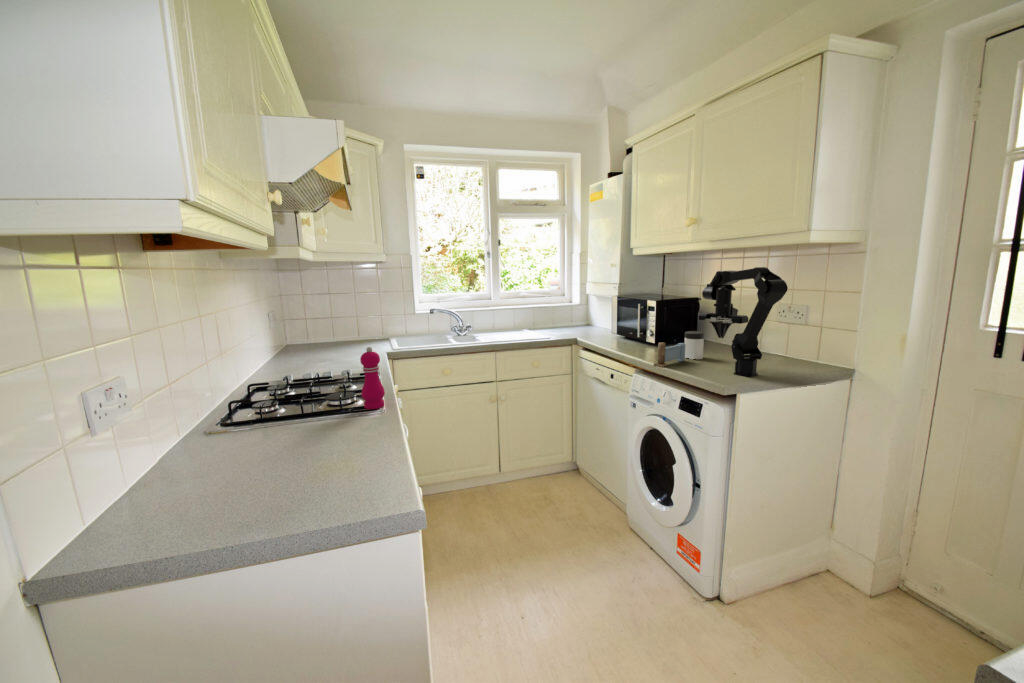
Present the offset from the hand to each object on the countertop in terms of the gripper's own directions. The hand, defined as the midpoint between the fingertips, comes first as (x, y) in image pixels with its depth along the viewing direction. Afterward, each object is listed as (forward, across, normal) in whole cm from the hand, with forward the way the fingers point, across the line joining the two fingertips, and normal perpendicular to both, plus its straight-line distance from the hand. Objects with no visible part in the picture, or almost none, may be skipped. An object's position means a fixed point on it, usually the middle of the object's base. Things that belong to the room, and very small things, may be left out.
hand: (721, 338), depth 175 cm
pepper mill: (+12, +42, +134) cm, 141 cm away
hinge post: (+12, +16, +18) cm, 27 cm away
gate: (+12, +16, +9) cm, 22 cm away
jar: (+12, +16, -6) cm, 21 cm away
